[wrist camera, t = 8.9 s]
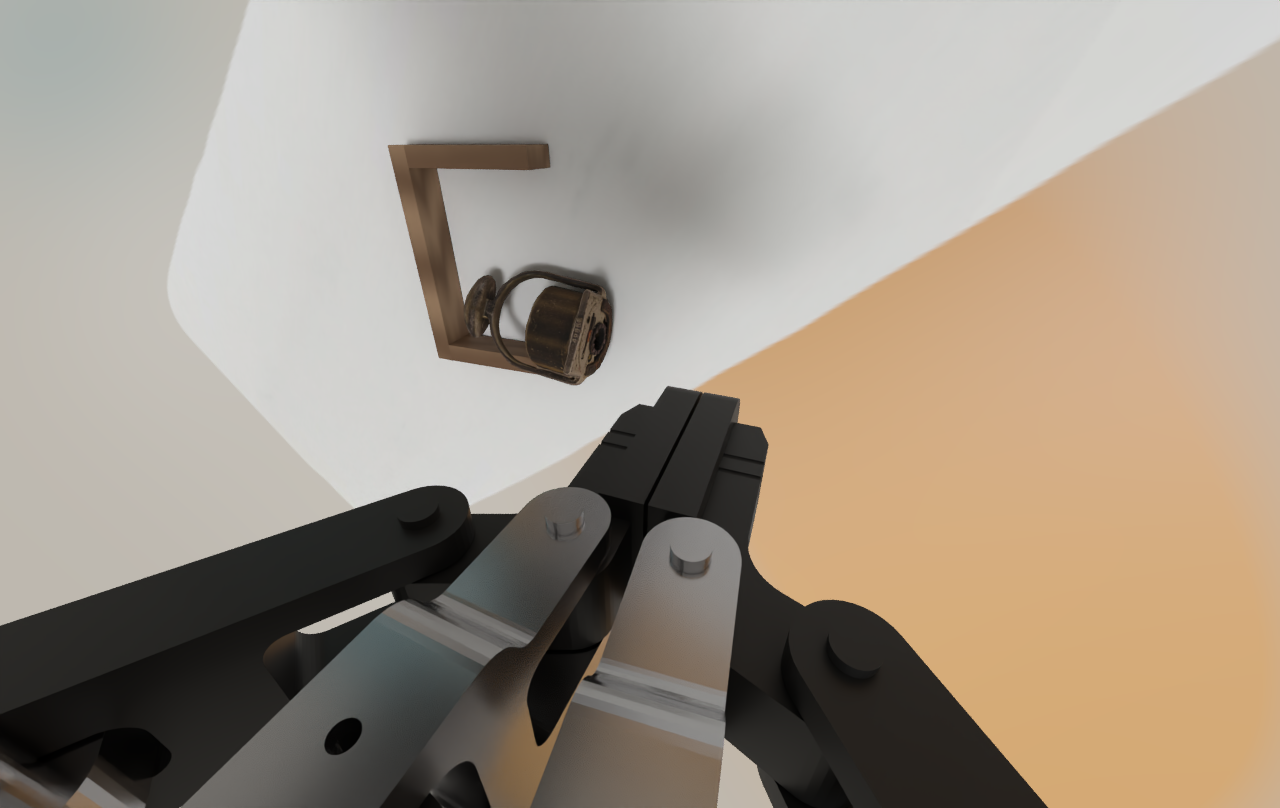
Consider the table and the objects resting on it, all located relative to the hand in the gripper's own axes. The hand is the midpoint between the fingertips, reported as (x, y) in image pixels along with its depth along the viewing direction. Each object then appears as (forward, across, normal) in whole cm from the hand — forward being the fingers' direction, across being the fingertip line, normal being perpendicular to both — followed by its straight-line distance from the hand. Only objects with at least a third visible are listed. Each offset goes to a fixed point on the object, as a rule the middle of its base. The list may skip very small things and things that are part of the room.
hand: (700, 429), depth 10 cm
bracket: (+26, +22, +5) cm, 34 cm away
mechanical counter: (+26, +19, +5) cm, 33 cm away
